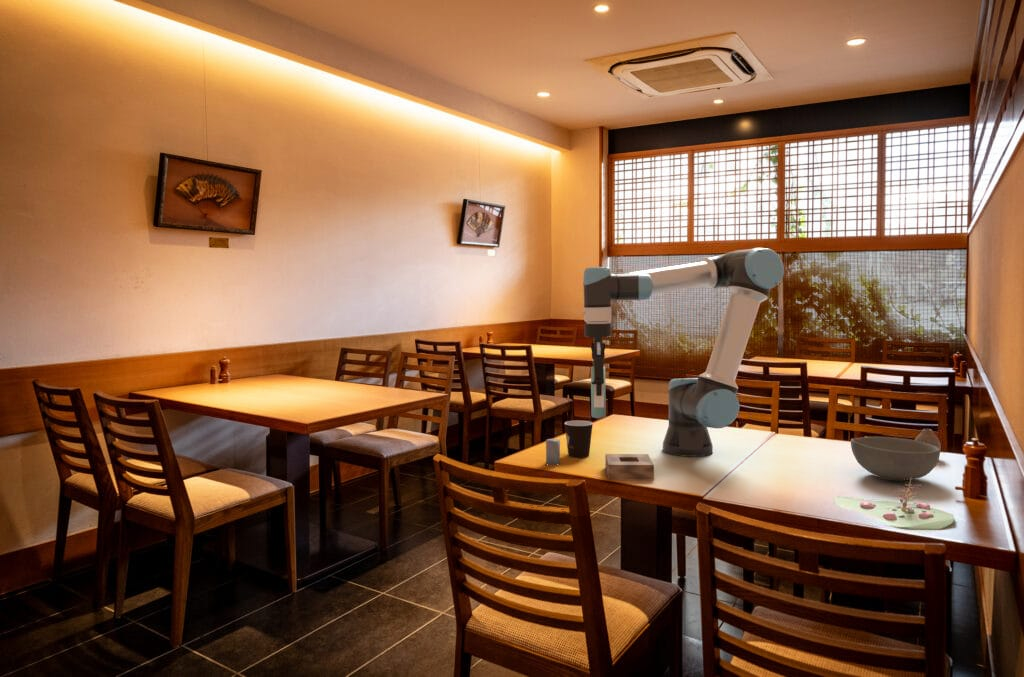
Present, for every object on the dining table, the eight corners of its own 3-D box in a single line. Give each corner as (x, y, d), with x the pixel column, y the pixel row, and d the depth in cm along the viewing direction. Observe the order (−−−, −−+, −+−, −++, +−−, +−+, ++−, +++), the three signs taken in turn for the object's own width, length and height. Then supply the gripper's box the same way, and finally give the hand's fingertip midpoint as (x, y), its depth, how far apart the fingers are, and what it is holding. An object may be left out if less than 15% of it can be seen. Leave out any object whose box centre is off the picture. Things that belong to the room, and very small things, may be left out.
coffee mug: (591, 459, 202) (591, 426, 202) (562, 458, 204) (562, 425, 203) (594, 450, 214) (594, 419, 213) (567, 449, 215) (567, 418, 215)
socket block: (647, 468, 192) (648, 454, 191) (653, 479, 180) (653, 465, 179) (605, 467, 192) (605, 453, 192) (608, 479, 180) (608, 464, 180)
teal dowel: (605, 415, 192) (604, 366, 191) (606, 417, 188) (605, 367, 187) (591, 415, 192) (590, 366, 191) (591, 417, 188) (590, 368, 187)
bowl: (939, 494, 164) (940, 454, 164) (846, 482, 175) (847, 444, 174) (938, 475, 181) (939, 438, 181) (853, 465, 192) (854, 430, 191)
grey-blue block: (559, 462, 199) (559, 438, 199) (559, 465, 195) (559, 441, 195) (546, 462, 200) (546, 438, 199) (546, 465, 196) (545, 441, 195)
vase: (938, 457, 200) (939, 428, 200) (942, 462, 194) (943, 432, 194) (911, 455, 203) (912, 426, 203) (914, 460, 197) (915, 430, 196)
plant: (816, 514, 153) (816, 475, 152) (843, 493, 168) (843, 457, 168) (945, 540, 136) (946, 496, 136) (962, 514, 152) (963, 474, 151)
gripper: (583, 321, 197) (585, 400, 198) (584, 324, 180) (585, 411, 181) (609, 320, 196) (610, 400, 198) (612, 324, 179) (613, 411, 181)
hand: (598, 405), depth 190 cm, fingers closed on teal dowel, 4 cm apart
